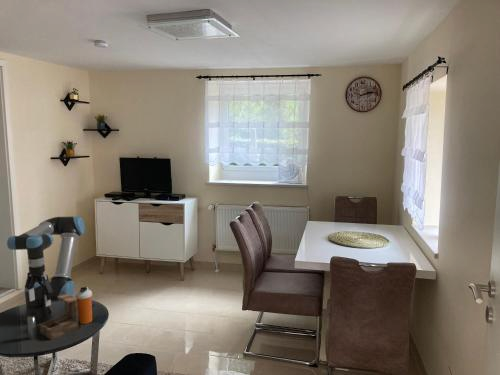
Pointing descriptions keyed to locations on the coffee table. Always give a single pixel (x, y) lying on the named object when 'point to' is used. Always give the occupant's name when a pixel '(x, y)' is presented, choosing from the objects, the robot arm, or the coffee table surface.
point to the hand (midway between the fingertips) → (40, 303)
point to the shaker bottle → (84, 305)
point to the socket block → (62, 319)
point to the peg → (31, 327)
